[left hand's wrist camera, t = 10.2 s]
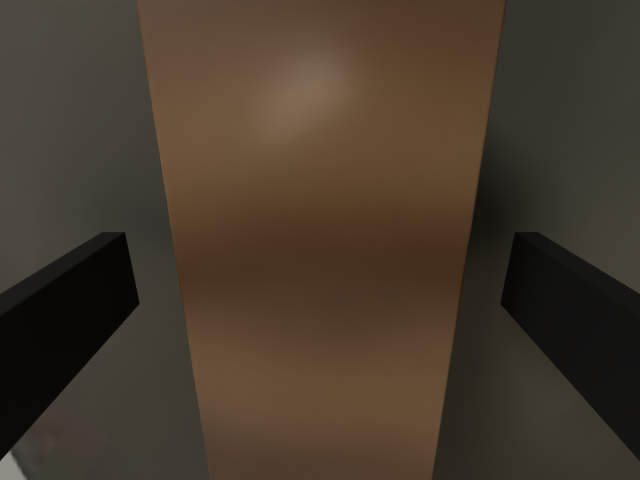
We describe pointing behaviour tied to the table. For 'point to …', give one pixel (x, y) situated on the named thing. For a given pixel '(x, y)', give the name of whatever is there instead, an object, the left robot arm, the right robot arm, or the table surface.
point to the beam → (321, 219)
